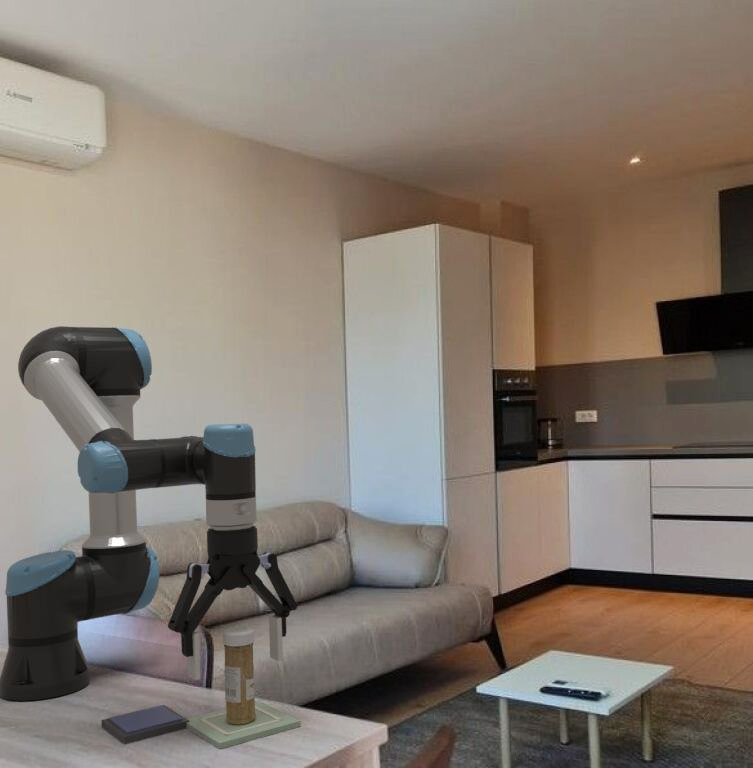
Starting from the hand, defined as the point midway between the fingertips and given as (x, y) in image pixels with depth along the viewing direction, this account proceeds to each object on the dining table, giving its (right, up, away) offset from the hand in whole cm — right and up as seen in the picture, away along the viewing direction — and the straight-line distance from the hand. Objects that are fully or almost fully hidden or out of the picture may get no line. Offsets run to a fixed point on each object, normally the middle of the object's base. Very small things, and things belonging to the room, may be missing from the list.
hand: (236, 668), depth 132 cm
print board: (+1, -8, -1) cm, 8 cm away
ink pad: (-14, -9, +1) cm, 17 cm away
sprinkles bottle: (+1, -8, -1) cm, 8 cm away
